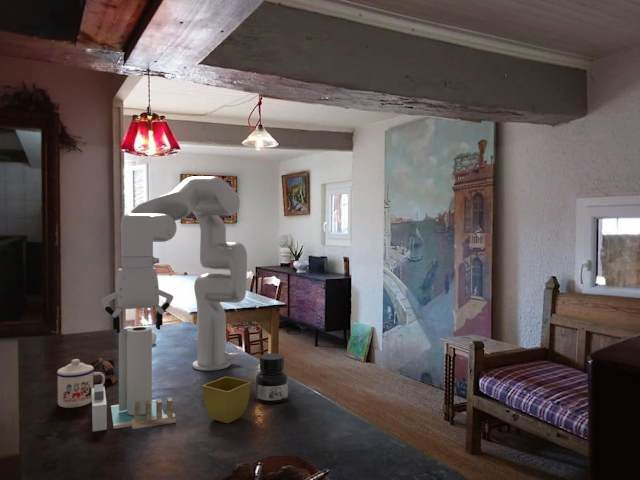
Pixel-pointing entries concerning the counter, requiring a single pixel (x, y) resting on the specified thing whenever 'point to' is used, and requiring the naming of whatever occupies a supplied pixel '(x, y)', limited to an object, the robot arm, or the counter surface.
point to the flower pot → (226, 398)
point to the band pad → (127, 416)
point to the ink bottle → (271, 379)
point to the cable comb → (153, 420)
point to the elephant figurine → (154, 337)
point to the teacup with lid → (76, 384)
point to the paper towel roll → (135, 368)
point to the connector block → (99, 408)
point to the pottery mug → (105, 367)
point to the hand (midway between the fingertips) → (138, 330)
